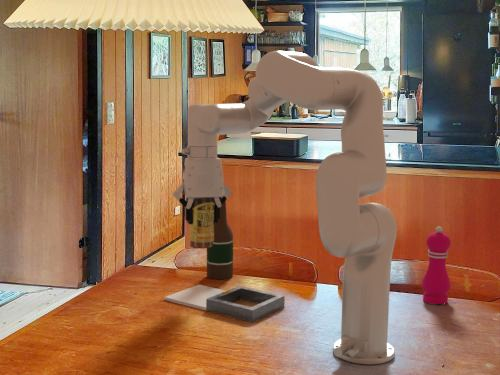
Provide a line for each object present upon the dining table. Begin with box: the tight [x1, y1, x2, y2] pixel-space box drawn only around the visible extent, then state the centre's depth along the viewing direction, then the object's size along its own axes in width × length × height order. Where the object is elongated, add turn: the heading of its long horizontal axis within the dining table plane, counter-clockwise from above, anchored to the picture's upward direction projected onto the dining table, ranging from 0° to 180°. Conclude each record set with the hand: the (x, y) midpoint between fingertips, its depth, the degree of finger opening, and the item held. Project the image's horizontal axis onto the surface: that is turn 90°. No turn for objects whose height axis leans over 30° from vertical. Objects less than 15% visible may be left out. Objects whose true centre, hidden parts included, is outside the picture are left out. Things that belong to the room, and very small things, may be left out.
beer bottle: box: [206, 197, 234, 281], centre depth 190 cm, size 8×8×24 cm
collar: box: [205, 285, 286, 323], centre depth 163 cm, size 14×14×3 cm
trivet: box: [163, 284, 226, 311], centre depth 172 cm, size 14×14×1 cm
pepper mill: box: [421, 225, 451, 305], centre depth 170 cm, size 7×7×20 cm
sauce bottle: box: [189, 198, 214, 250], centre depth 168 cm, size 6×6×20 cm
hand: (202, 221), depth 169 cm, fingers closed on sauce bottle, 6 cm apart
